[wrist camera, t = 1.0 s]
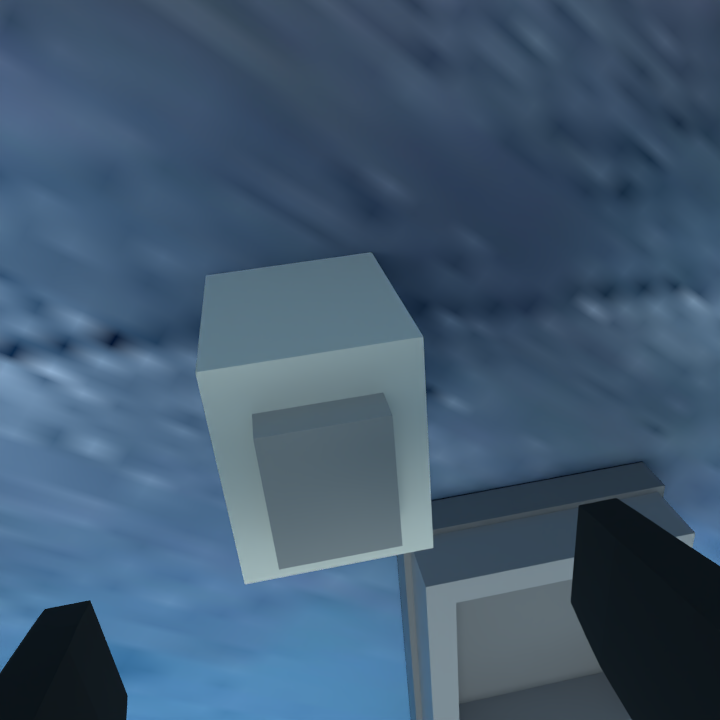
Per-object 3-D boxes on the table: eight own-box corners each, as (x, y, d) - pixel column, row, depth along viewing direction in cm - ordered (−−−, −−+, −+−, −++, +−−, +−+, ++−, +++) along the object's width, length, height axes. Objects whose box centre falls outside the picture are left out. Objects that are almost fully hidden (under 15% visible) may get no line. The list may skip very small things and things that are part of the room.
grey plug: (371, 251, 16) (435, 356, 11) (385, 422, 18) (443, 575, 13) (206, 274, 16) (192, 395, 10) (241, 447, 18) (245, 614, 13)
